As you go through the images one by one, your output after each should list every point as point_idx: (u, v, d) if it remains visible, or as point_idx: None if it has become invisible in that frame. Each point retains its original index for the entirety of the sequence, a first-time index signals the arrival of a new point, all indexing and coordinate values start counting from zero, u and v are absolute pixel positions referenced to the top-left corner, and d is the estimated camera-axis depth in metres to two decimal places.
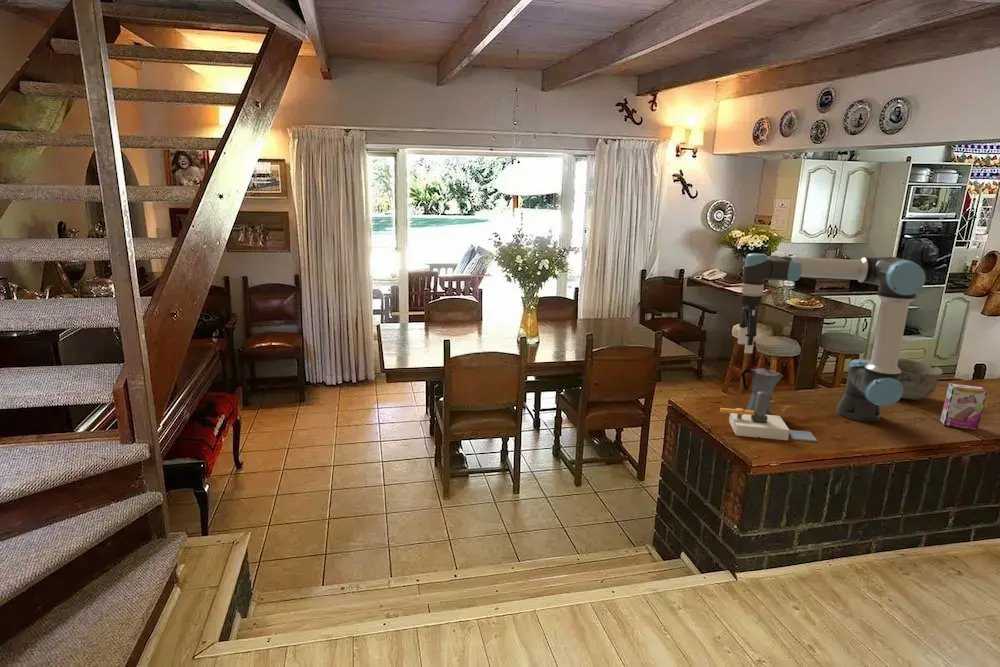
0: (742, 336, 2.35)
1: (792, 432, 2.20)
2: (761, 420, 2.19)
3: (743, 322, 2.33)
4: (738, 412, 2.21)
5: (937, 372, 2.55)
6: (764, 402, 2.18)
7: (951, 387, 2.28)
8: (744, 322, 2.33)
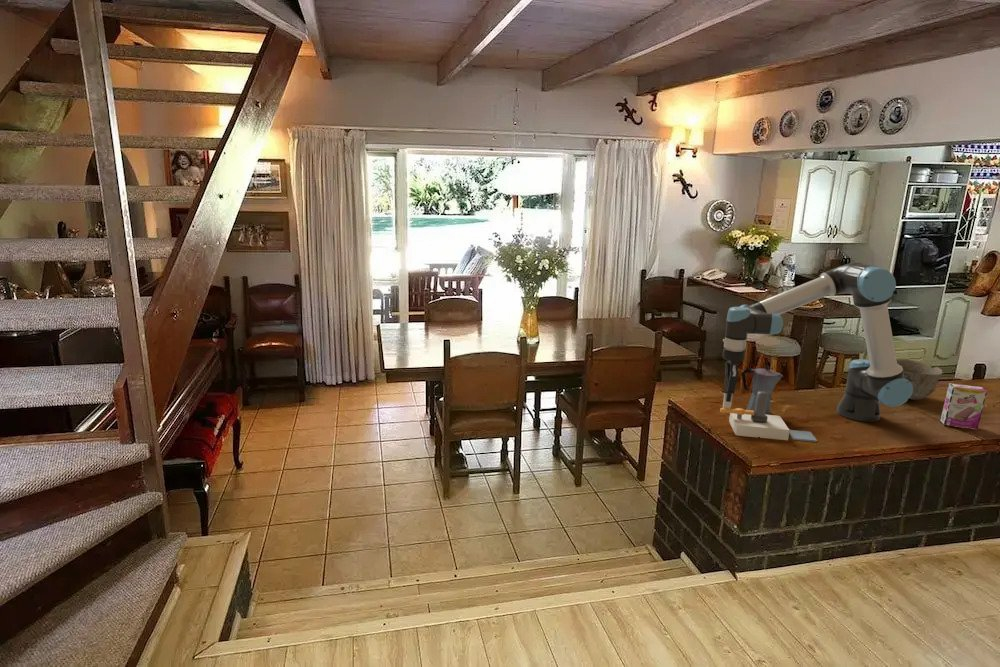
0: None
1: (792, 432, 2.20)
2: (761, 420, 2.19)
3: None
4: (738, 412, 2.21)
5: (937, 372, 2.55)
6: (764, 402, 2.18)
7: (951, 387, 2.28)
8: None
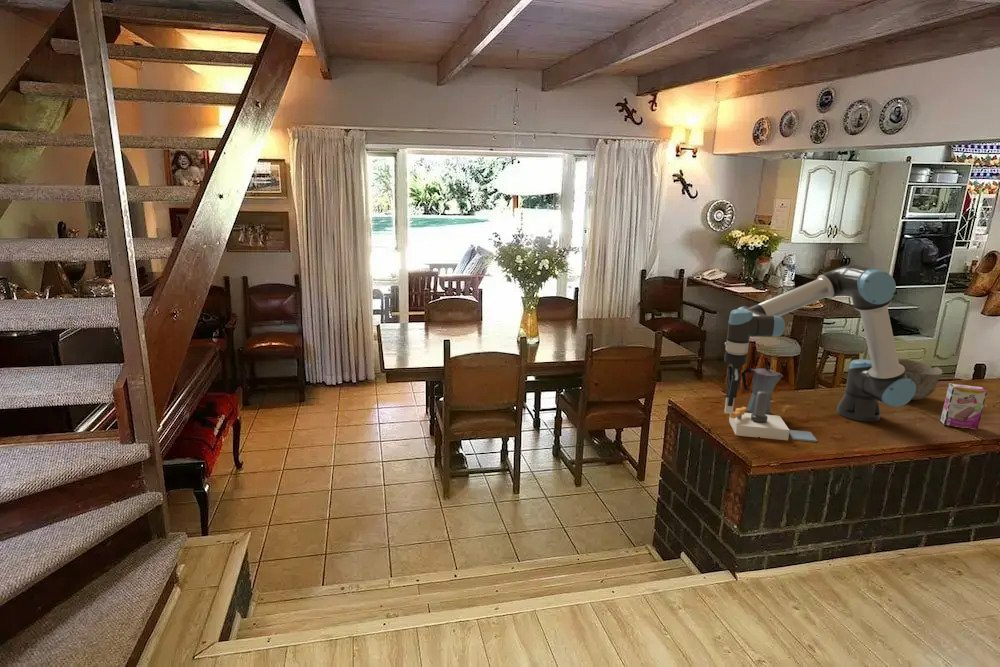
0: None
1: (792, 432, 2.20)
2: (761, 420, 2.19)
3: (729, 386, 2.18)
4: (742, 412, 2.21)
5: (937, 372, 2.55)
6: (764, 402, 2.18)
7: (951, 387, 2.28)
8: None
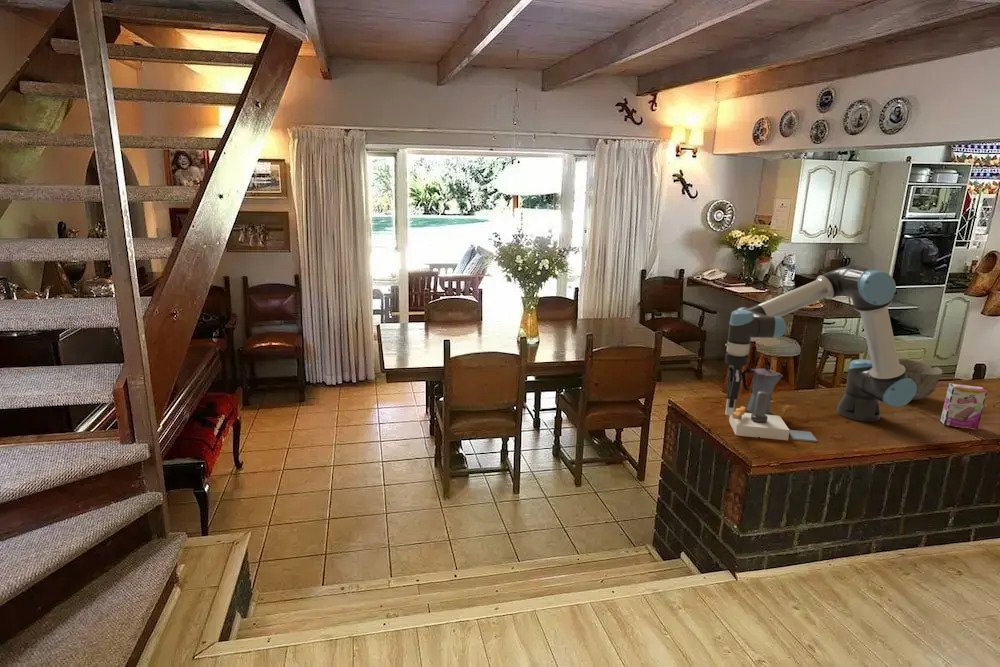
0: None
1: (792, 432, 2.20)
2: (761, 420, 2.19)
3: (730, 387, 2.17)
4: (743, 412, 2.21)
5: (937, 372, 2.55)
6: (764, 402, 2.18)
7: (951, 387, 2.28)
8: None
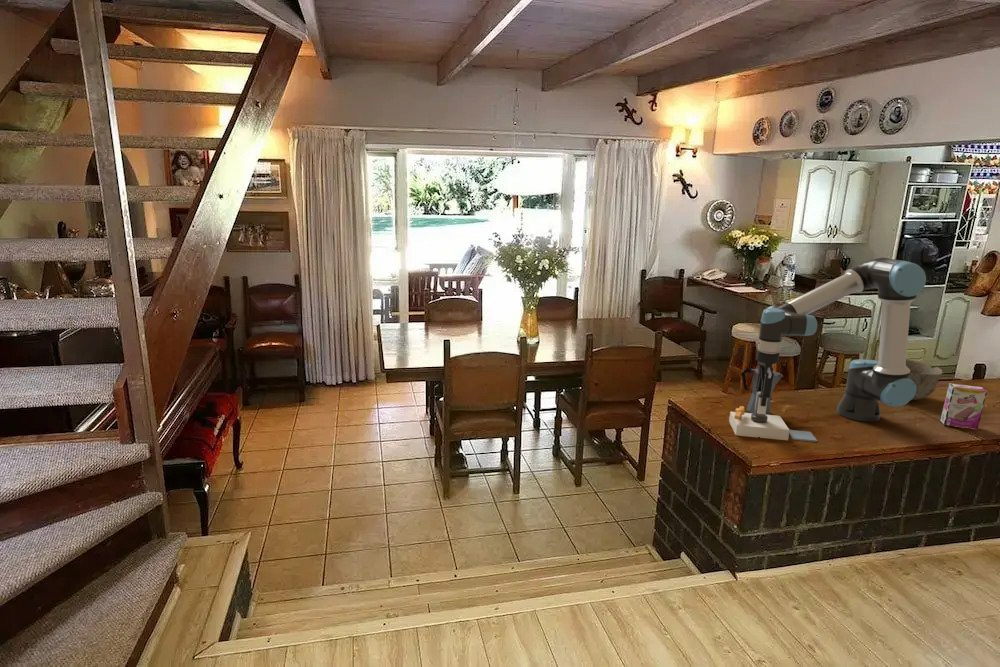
0: None
1: (792, 432, 2.20)
2: (761, 420, 2.19)
3: (760, 384, 2.20)
4: (743, 412, 2.21)
5: (937, 372, 2.55)
6: None
7: (951, 387, 2.28)
8: (761, 384, 2.20)
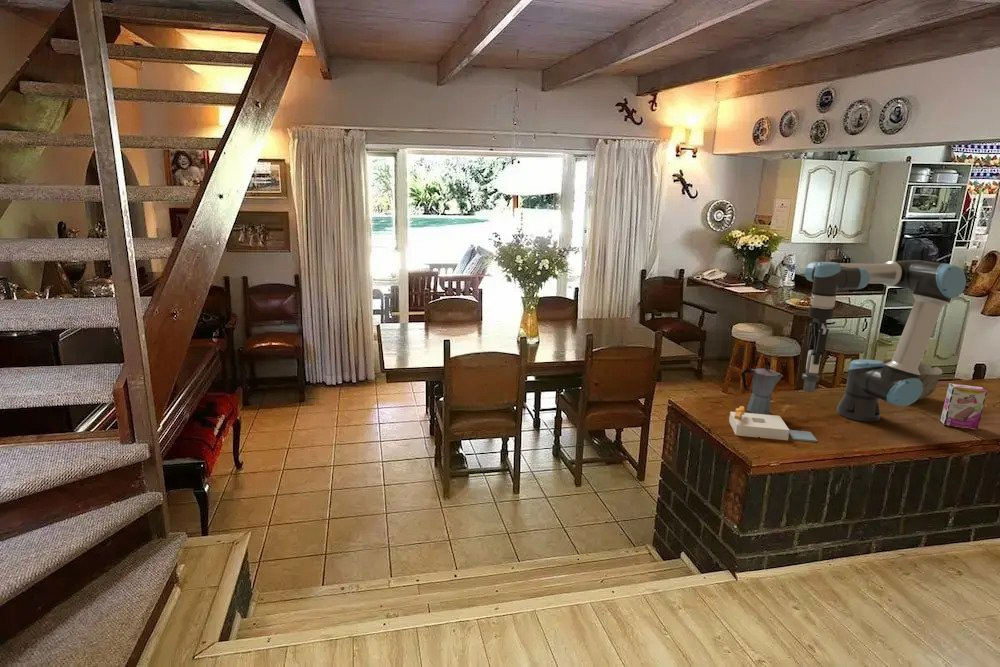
0: None
1: (792, 432, 2.20)
2: (813, 379, 2.10)
3: (812, 342, 2.11)
4: (743, 412, 2.21)
5: (937, 372, 2.55)
6: None
7: (951, 387, 2.28)
8: (813, 342, 2.11)
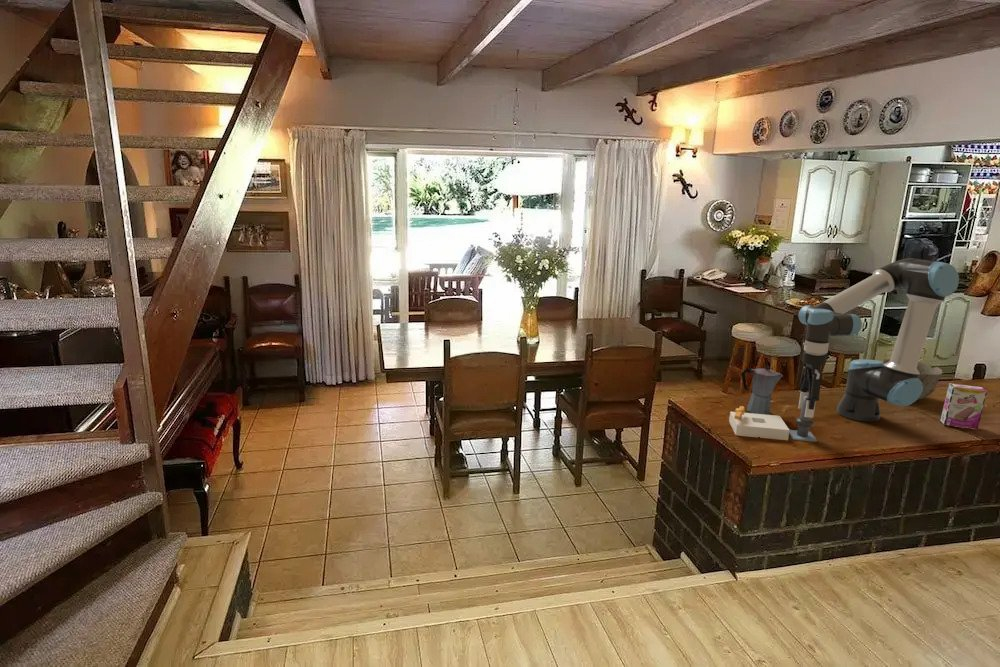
0: None
1: (792, 432, 2.20)
2: (807, 425, 2.14)
3: (805, 384, 2.17)
4: (743, 412, 2.21)
5: (937, 372, 2.55)
6: None
7: (951, 387, 2.28)
8: (806, 385, 2.17)
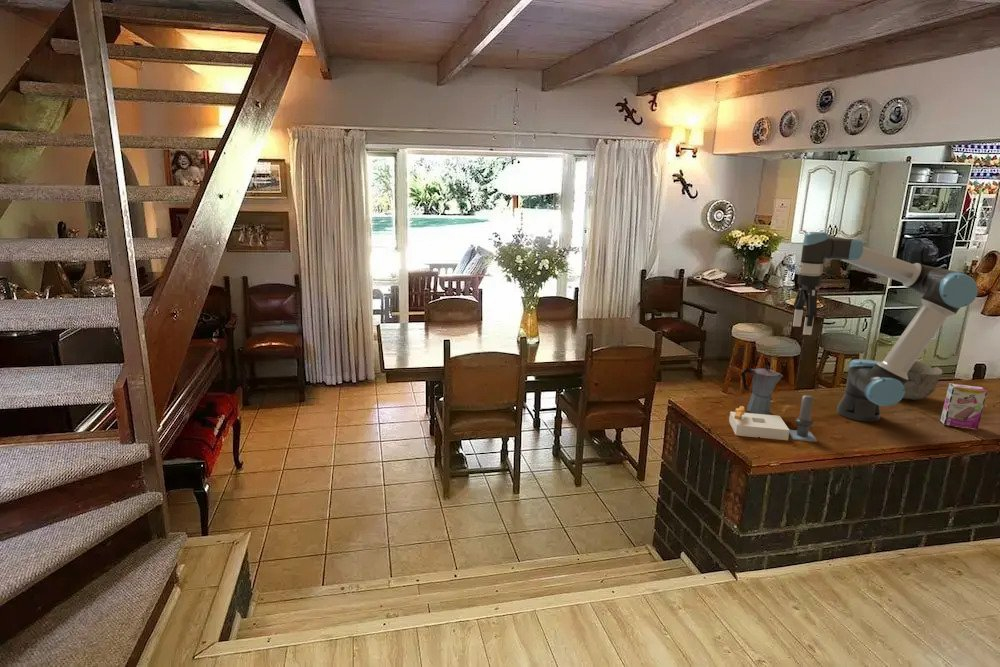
0: (797, 318, 2.29)
1: (792, 432, 2.20)
2: (806, 424, 2.14)
3: (799, 303, 2.26)
4: (743, 412, 2.21)
5: (937, 372, 2.55)
6: (809, 406, 2.13)
7: (951, 387, 2.28)
8: (800, 304, 2.26)
